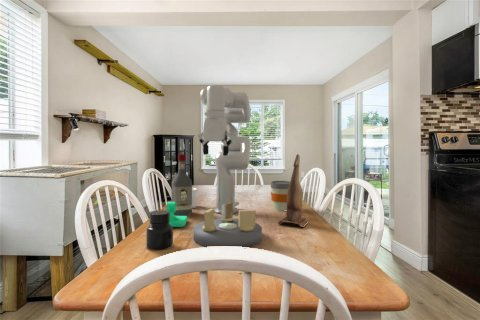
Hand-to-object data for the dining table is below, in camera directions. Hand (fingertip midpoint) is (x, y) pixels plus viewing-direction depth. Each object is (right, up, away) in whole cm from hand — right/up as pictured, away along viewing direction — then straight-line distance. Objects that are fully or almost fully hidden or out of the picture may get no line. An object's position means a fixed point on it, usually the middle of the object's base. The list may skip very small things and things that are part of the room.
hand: (215, 154), depth 129 cm
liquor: (-19, -30, +21) cm, 41 cm away
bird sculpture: (+35, -32, +5) cm, 47 cm away
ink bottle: (-17, -33, -25) cm, 45 cm away
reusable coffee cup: (+33, -30, +34) cm, 56 cm away
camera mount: (-17, -31, +2) cm, 36 cm away
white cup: (-17, -29, +37) cm, 50 cm away
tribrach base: (+6, -32, -15) cm, 36 cm away
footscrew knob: (+5, -28, -7) cm, 29 cm away
